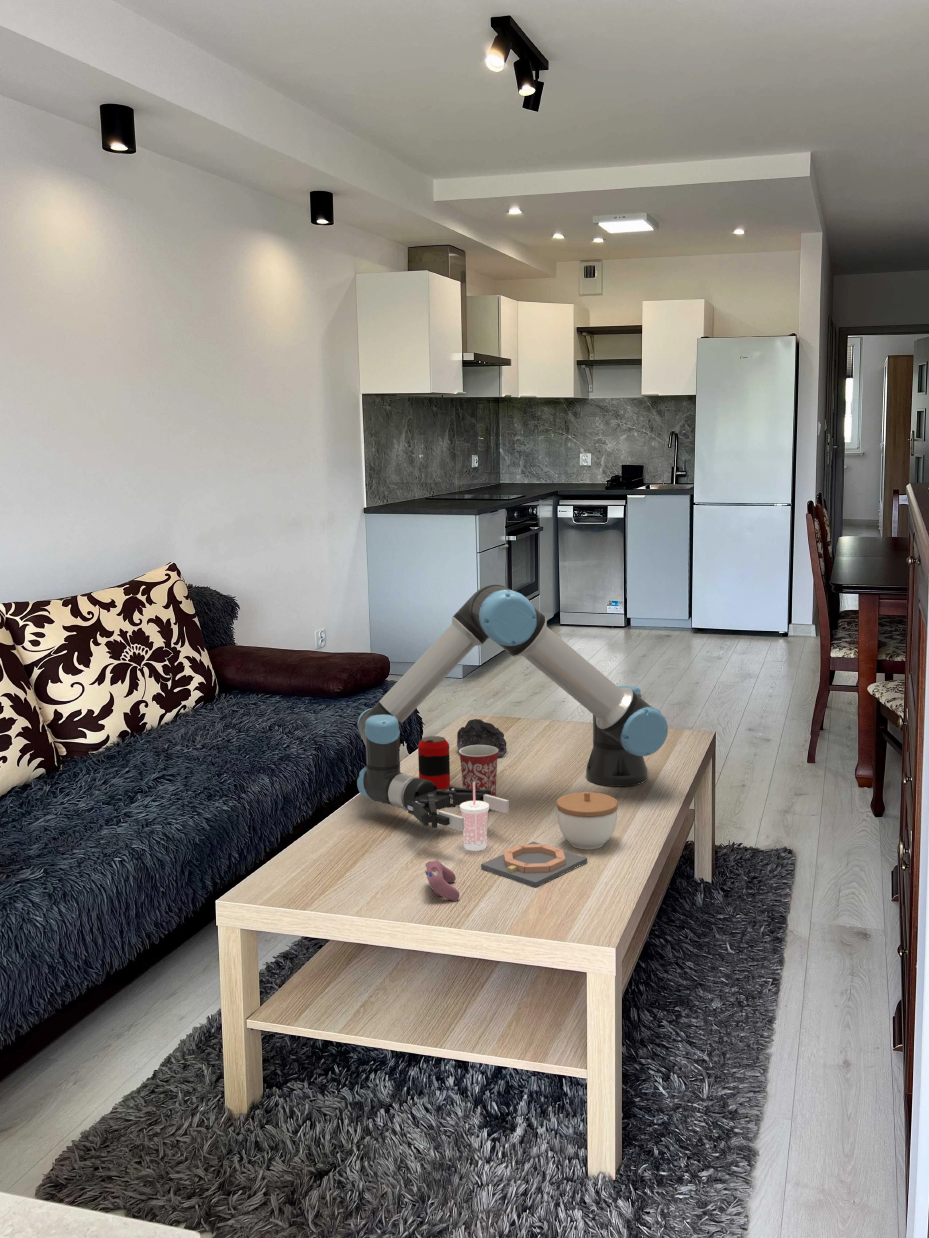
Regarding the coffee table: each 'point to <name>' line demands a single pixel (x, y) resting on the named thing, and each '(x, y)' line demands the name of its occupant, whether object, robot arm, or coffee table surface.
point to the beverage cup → (475, 823)
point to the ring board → (533, 863)
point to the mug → (479, 767)
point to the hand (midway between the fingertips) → (485, 815)
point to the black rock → (481, 736)
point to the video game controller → (441, 880)
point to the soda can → (434, 761)
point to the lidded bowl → (587, 818)
